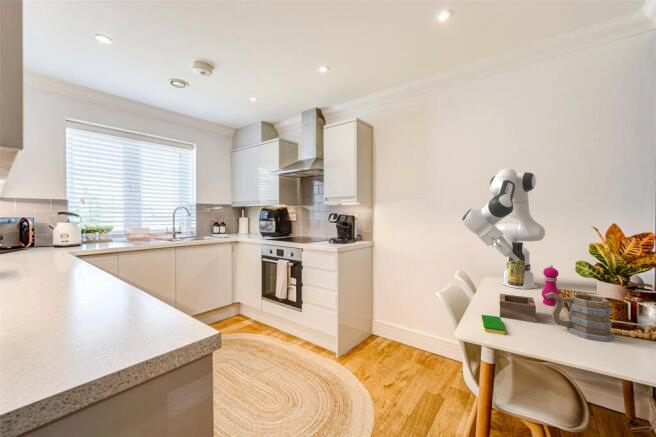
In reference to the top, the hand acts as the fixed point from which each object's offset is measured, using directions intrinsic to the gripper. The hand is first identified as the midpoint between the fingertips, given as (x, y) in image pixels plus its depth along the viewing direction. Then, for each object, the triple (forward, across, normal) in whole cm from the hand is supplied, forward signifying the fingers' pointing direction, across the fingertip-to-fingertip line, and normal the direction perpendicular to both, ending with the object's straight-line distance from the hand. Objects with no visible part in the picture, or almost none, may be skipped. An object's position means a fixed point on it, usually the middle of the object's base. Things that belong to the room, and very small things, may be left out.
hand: (518, 259), depth 124 cm
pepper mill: (+28, +24, +8) cm, 38 cm away
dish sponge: (+12, -19, +25) cm, 34 cm away
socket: (+18, 0, +18) cm, 26 cm away
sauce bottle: (+8, 0, +9) cm, 12 cm away
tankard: (+31, -9, +5) cm, 33 cm away
